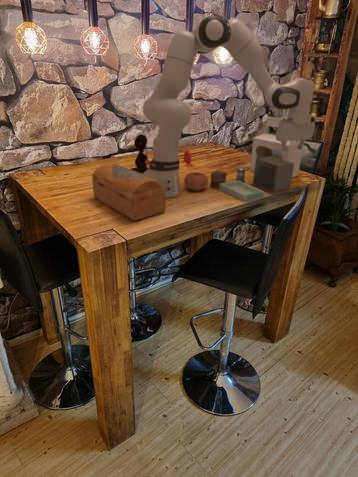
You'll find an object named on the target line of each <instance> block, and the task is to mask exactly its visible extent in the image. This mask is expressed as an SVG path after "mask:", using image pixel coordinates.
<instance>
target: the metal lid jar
mask: <svg viewBox="0 0 358 477" xmlns="http://www.w3.org/2000/svg"><path fill="white" fill-rule="evenodd" d="M245 176H246V168H245V167H240V166H239V167H237V168H236V176H235V181H238V180H239V181H241V182H243V183H245Z"/></svg>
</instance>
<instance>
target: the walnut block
mask: <svg viewBox="0 0 358 477" xmlns="http://www.w3.org/2000/svg"><path fill="white" fill-rule="evenodd" d="M210 172H211V173H210V188H212V189H216V190H219V184H220V183H226V181H227V172H225V171H222V170H215V171H210ZM219 191H220V190H219Z"/></svg>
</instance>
